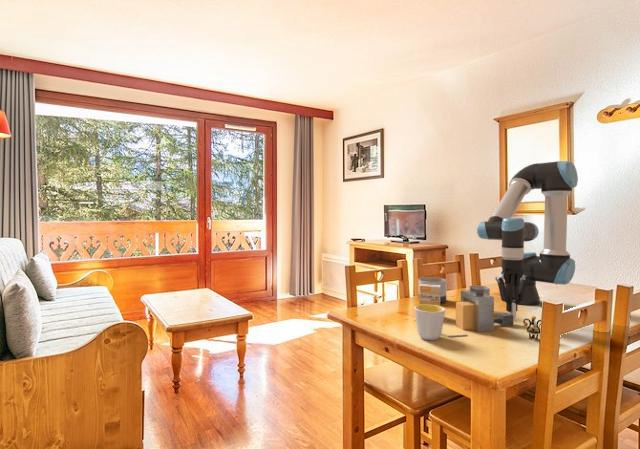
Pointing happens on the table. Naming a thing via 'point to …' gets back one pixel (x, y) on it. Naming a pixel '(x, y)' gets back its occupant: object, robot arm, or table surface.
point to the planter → (435, 282)
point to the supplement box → (429, 294)
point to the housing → (481, 308)
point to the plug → (467, 316)
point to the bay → (457, 335)
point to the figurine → (534, 326)
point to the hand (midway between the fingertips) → (511, 319)
